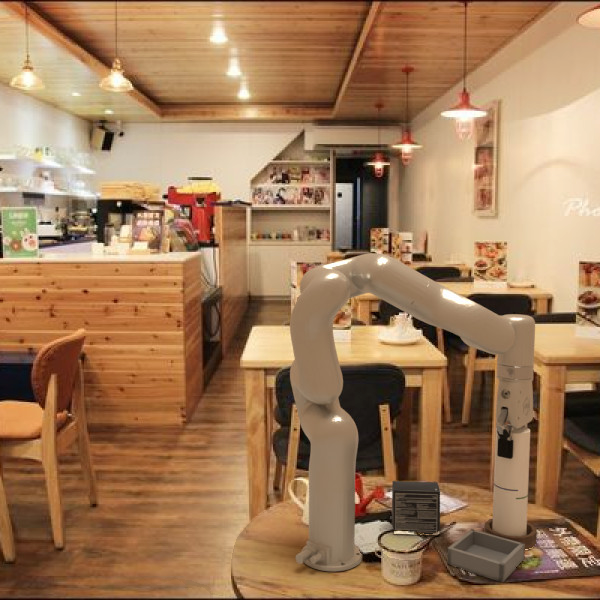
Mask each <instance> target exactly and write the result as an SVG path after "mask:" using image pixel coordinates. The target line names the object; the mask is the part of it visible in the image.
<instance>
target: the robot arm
mask: <svg viewBox="0 0 600 600" xmlns="http://www.w3.org/2000/svg"><path fill="white" fill-rule="evenodd" d="M300 279H301V280H300V281H299V282H300V283H299V292H300V295H299V296H298V298H297V300H296V302H295V303H294V306H293V309H292V310H291V315H290V320H289V333H290V341H291V346H292V351H293V357H294V360H293V361H292V364H291V366H290V370H289V380H290V385H291V389H292V393H293V394H292V395H293V398H294V403H295V407H296V411H297V416H298V419H299V420H298V421H299V423H300V427H301V429H302V431H303V433H304V435H305V436H306V437H307V439H308V440H309V442H310V456H309V464H308V540H306V545H304V546H303V548H302V549H301V551H300V552H299V553H297V554H296V555H295V561H296V563H297V564H306V566H308V567H309V568H313V569H315V570H319V571H322V572H323V571H324V572H344V571H348V570H351V569H353V568H355V567H356V566H359V564H361V563H362V559H363V553H362V554H361V553H360V551H359V549H360V550H361V548H360V547H358V545H356V543H355V533H356V532H355V530H356V528H355V527H356V525H355V524H356V523H355V522H356V519H355V518H356V516H355V515H356V464H357V461H356V460H357V454H358V448H359V446H358V445H359V432H358V428H357V425H356V423H355V421H354V419H353V418H352V416H351V415H350V414H349V413H348V412H347V411H346V410H345V409H343V408H342V407H341V404H340V400H339V397H340V396H341V394H342V391H343V387H344V379H343V377H344V376H343V373H342V369H341V367H340V366H341V365H340V362H339V357H338V353H337V349H336V343H335V336H334V330H333V329H334V321H335V319H336V316H337V314H338V313H339V312H340V311H341V310H342V309H343V308H344V307H345V305H347V303H348V300H349V299H352V298H356V297H359V296H362V295H365V294H371V295H373V296H375V297H377V298H379V299H380V300H382V301H384V302H386V303H388V304H390V305H392V306H393V307H395V308H397V309H399V310H401V311H403V312H404V313H406V314H408V315H410V316H412V317H414V318H415V319H417V320H419V321H422V322H424V323H426V324H427V325H431V326H433V327H436V328H439V329H443V330H445V331H447V332H450V333H453V335H456V336H458V337H460V339H461V341H463V343H464V344H466V345H467V346H469V347H471V348H473V349H476V350H479V351H482V352H485V353H488V354H492V355H497V356H496V357H497V358H496V379H497V380H498V384H497V385H498V386H497V392H496V393H497V394H496V405H495V406H496V407H495V408H496V409H495V420H496V421H495V422H496V423H495V429H496V428H497V433H498V435H497V438H498V449H497V455H498V456H499V457H503V458H508V459H512V458H513V440H512V435H513V431H514V427H515V428H516V429H518V428H520V427H522V426H523V427H526V428H528V424H529V423H531V422H532V421H533V418H534V397H533V396H534V392H533V391H534V389H533V381H534V367H535V366H534V364H535V341H536V339H535V338H536V336H535V335H536V321H535V319H534V318H533V317H532V316H530V315H528V314H521V313H520V314H513V313H512V314H510V313H509V314H504V315H499V314H498V313H495V312H493V311H492V310H490V309H488V308H486V307H484V306H483V305H481V304H480V303H477V302H475V301H473V300H472V299H469V298H467V297H465V296H464V295H461V294H460V293H458V292H456V291H454V290H452V289H450V288H448V287H446V286H445V285H442V284H441V283H438V282H437V281H435V280H434V279H431V278H429V277H428V276H427V275H424V274H422V273H420V272H419V271H417V270H415V269H414V268H412V267H411V266H408V265H407V264H405V263H403V262H402V261H401V260H398V259H396V258H395V257H392V256H389V255H388V254H383V253H373V252H371V253H364V254H359V255H357V256H353V257H350V258H345V259H342V260H338V261H334V262H330V263H327V264H322V265H319V266H315V267H312V268H311V269H309V270H307V272H305V273H304V274H303V276H302V278H300ZM506 423H507V424H510V425H507V424H506ZM505 428H507V429H509V433H508V432H507V430H506V429H505Z"/></svg>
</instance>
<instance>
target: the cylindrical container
mask: <svg viewBox="0 0 600 600" xmlns="http://www.w3.org/2000/svg"><path fill="white" fill-rule="evenodd" d="M507 425H511V423H507ZM505 429H506V430H507V432H508V433H509V429H507V428H505ZM497 435H498V433H497V428H496V427H495V439H494V469H493V470H494V471H493V496H492V497H493V500H492V504H493V505H492V518H493V524H492V530H494V531H495V532H497V533H500V534H504V535H507V536H524V535H526V530H527V522H528V504H529V503H528V500H529V499H528V498H529V496H528V495H529V473H530V452H531V451H530V450H531V449H530V448H531V429H530V428H526V427H523V426H522V427H520V428H518V429H516V428H515V427H514V431H513V435H512V440H513V458H512V459H508V458H503V457H499V456H498V455H497V449H498V438H497Z"/></svg>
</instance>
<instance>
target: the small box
mask: <svg viewBox="0 0 600 600" xmlns="http://www.w3.org/2000/svg"><path fill="white" fill-rule="evenodd" d="M391 486H392V487H391V489H392V491H391V492H392V494H391V495H392V497H391V500H392V503H391V509H392V510H391V514H392V515H391V518H392V519H391V522H392V523H391V528H392V527H393V529H392V531H393V530H408V531H417V532H421V533H424V534H433V533H436V532H438V531H441V489H440V486H439V483H438V482H437V481H406V480H404V481H403V480H397V481H396V480H392V485H391Z"/></svg>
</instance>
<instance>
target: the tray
mask: <svg viewBox="0 0 600 600" xmlns="http://www.w3.org/2000/svg"><path fill="white" fill-rule="evenodd" d="M525 552H526V551H525V544H523V543H520V542H516V541H513V540H509V539H506V538H502V537H499V536H495V535H491V534H488V533H485V531H480V530H477V529H472V528H471V529H470V530H468V531H467V532H466V533H465V534H463V535H462V536H461V537H459V539H456V541H455V542H453V543H452V544H451V545H450V546H448V547H447V559H446V562H447V563H446V565H447V564H450V565H452V566H451V567H453V566H456V567H459V568H462V569H464V570H463V571H465V570H466V572H468V571H469V573H471V572H472V573H471V574H475V575H478V576H480V577H484V578H487V579H490V580H493V581H496V582H500V583H504V582H505V580H506V579H508V578H509V577H510V576H511V575H512V574H513V573H514V571H515V570H516V569H517V568H518V567H519V566H520V565H521V564H522V563H523V562H524V561H525ZM523 560H524V561H523ZM522 561H523V562H522ZM521 562H522V563H521ZM520 563H521V564H520ZM519 564H520V565H519ZM450 565H449V566H450ZM518 565H519V566H518ZM517 566H518V567H517ZM456 567H455V568H456ZM516 567H517V568H516ZM459 568H458V569H459ZM462 569H461V570H462Z"/></svg>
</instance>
